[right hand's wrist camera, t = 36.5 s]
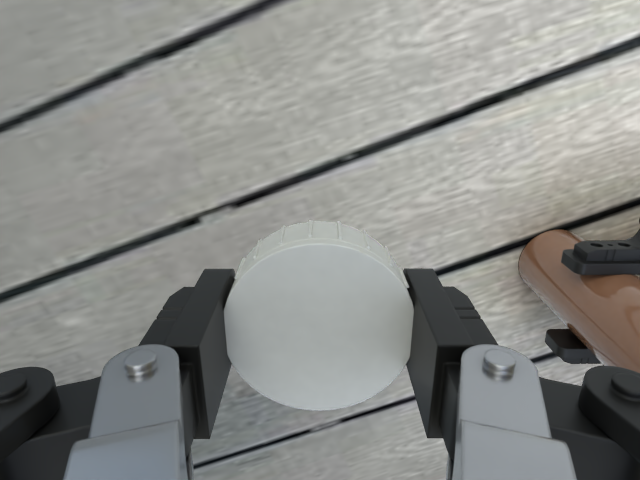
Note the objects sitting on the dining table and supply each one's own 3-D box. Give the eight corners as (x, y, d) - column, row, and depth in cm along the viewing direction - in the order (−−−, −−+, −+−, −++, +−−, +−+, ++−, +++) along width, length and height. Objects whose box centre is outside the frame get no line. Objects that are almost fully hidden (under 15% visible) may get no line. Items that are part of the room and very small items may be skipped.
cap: (419, 355, 13) (433, 393, 11) (259, 387, 13) (252, 428, 12) (389, 199, 11) (400, 220, 10) (207, 242, 11) (191, 268, 10)
